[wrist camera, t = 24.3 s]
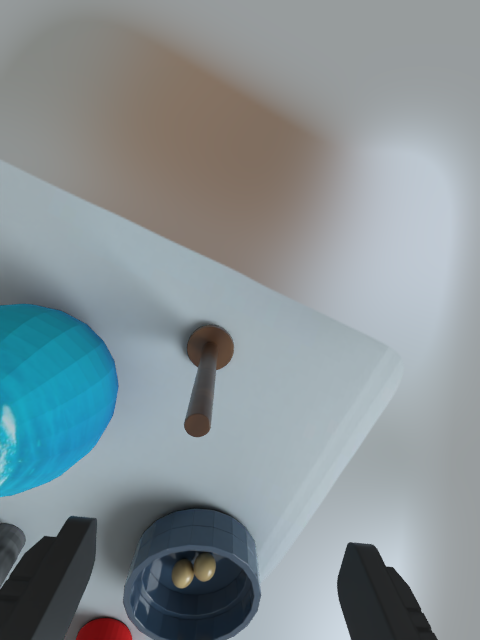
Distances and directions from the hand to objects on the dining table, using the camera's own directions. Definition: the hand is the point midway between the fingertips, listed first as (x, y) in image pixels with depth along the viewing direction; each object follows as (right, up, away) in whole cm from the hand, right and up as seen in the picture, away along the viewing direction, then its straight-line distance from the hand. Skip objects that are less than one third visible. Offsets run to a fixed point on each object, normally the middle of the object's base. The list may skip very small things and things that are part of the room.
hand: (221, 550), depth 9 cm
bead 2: (-4, -24, +27) cm, 36 cm away
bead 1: (-7, -25, +27) cm, 37 cm away
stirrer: (-3, +4, +23) cm, 23 cm away
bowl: (-5, -24, +29) cm, 38 cm away
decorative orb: (-18, +3, +22) cm, 29 cm away
